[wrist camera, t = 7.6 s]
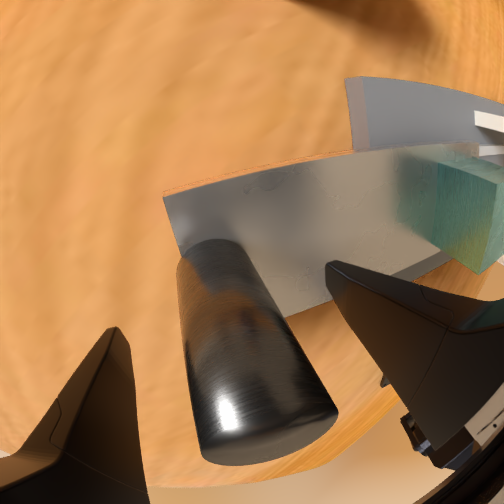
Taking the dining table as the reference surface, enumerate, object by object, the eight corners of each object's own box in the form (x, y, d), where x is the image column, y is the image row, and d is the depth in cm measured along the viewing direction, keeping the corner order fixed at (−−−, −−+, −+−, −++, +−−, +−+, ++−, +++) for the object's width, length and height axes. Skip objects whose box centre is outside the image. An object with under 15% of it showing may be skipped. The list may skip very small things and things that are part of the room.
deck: (503, 216, 22) (514, 223, 21) (354, 291, 18) (370, 308, 17) (509, 108, 15) (523, 111, 14) (344, 78, 11) (368, 75, 10)
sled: (462, 231, 16) (537, 281, 9) (201, 332, 13) (239, 484, 6) (470, 140, 12) (564, 175, 6) (150, 195, 9) (114, 368, 3)
